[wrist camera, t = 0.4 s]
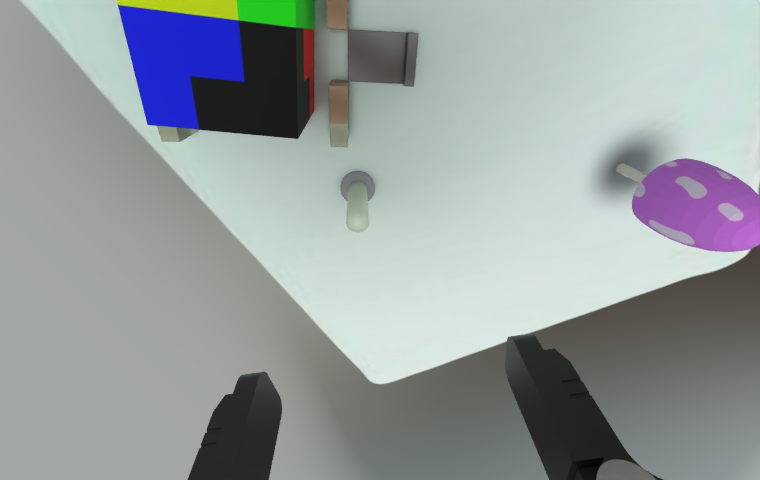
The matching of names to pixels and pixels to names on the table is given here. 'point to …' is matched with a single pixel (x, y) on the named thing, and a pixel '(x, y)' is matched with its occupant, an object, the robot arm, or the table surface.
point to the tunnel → (352, 70)
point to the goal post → (357, 199)
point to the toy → (697, 205)
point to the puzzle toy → (223, 63)
